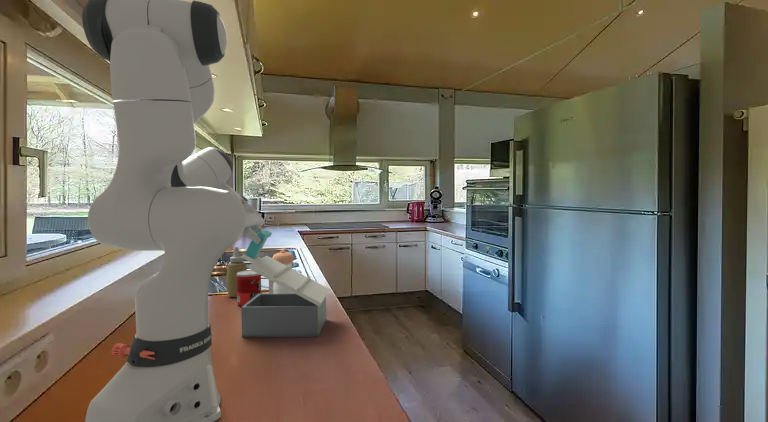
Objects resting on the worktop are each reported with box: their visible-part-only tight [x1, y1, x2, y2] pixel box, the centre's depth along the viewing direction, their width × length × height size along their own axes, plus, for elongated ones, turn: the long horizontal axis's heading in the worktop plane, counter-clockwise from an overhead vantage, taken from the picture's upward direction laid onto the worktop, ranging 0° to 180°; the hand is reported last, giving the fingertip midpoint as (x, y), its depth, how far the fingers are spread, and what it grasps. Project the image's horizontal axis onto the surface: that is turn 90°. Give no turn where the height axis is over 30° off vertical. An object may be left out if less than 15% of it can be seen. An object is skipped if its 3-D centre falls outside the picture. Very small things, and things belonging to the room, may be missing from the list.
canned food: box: [236, 269, 262, 308], centre depth 135 cm, size 8×8×11 cm
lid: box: [241, 229, 331, 307], centre depth 110 cm, size 15×25×9 cm, turn 89°
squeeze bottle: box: [225, 246, 248, 298], centre depth 146 cm, size 8×8×18 cm
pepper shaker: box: [271, 249, 295, 294], centre depth 130 cm, size 7×7×19 cm
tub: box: [240, 293, 327, 338], centre depth 111 cm, size 14×20×8 cm
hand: (262, 240), depth 110 cm, fingers closed on lid, 3 cm apart
